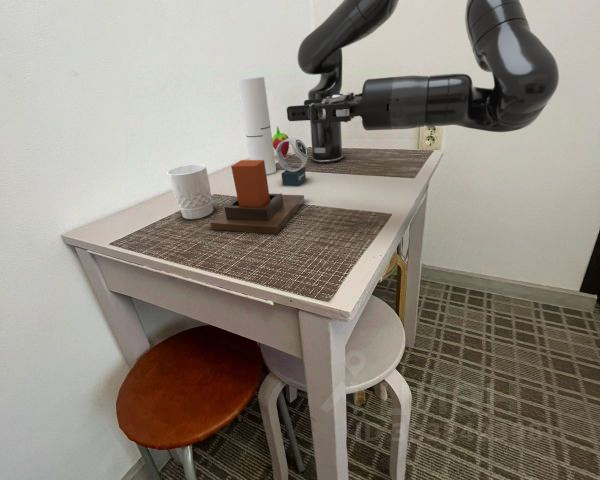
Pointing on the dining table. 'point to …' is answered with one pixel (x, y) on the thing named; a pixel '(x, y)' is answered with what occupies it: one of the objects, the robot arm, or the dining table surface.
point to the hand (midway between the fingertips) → (296, 110)
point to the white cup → (191, 190)
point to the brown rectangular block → (251, 183)
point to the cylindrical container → (257, 121)
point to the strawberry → (278, 139)
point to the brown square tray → (259, 215)
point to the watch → (293, 174)
